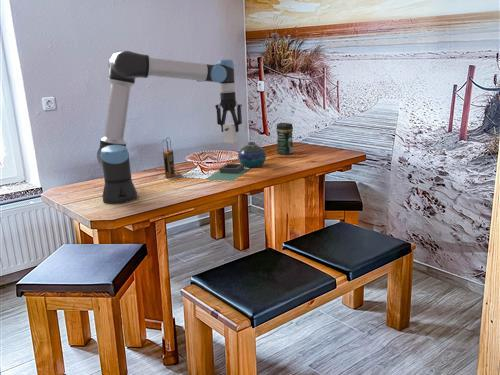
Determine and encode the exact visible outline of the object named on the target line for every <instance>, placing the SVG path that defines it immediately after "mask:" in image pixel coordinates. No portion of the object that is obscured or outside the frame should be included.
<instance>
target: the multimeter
mask: <svg viewBox="0 0 500 375" xmlns="http://www.w3.org/2000/svg"><path fill="white" fill-rule="evenodd" d="M168 139H169V142H168ZM164 141H165V142H166V151H165V150H164V149H162V156H163V165H164V167H163V168H164V175H165V176H164V177H165V178H167V180H170V181H172V180H176V179H179V178H180V177H182V178H183V177H185V176H184V175H181V174H180V172H177V171H176V169H175V160H174V159H175V157H174V150H173V149H170V148H172V144H171V142H172V141H171V138H170V137H166V138H165V139H163V140H162V142H164ZM169 145H170V148H169ZM175 174H177V176H176V177H174V178H172V177H173V176H174V175H175Z"/></svg>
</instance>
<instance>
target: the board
mask: <svg viewBox="0 0 500 375" xmlns="http://www.w3.org/2000/svg"><path fill="white" fill-rule="evenodd" d="M226 164H227V165H226ZM226 164H224V165H223V166H221V167H219V170H218V171H216V172H214V173H213V174H211V175H210V176H208V177H206V178H205V181H206V180H208V181H209V180H210V181H232V182H233V181H235V180H236V179H238V178H239V177H241V176H242V175H244V174H245V173H246V172H247V171H249V170H250V168H246V167H244V164H240V163H226Z"/></svg>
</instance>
